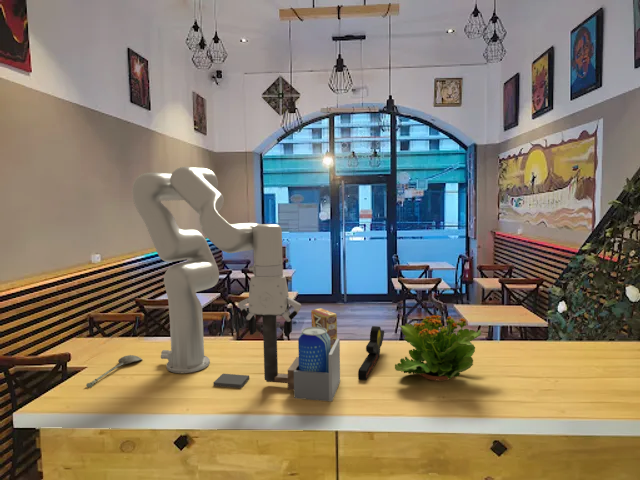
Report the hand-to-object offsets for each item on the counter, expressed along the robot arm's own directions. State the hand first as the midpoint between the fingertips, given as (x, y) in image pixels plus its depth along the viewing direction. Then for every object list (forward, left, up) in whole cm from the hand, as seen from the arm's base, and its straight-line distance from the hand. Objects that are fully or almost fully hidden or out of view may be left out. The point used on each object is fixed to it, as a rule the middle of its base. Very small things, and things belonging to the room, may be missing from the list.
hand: (270, 334), depth 115 cm
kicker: (+3, 0, -13) cm, 13 cm away
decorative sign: (+25, +21, -15) cm, 36 cm away
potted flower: (+44, +16, -15) cm, 49 cm away
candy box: (+10, +21, -14) cm, 28 cm away
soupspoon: (-49, +1, -15) cm, 51 cm away
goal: (+12, 0, -14) cm, 19 cm away
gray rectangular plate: (-12, 0, -14) cm, 18 cm away
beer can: (+12, 0, -14) cm, 19 cm away
